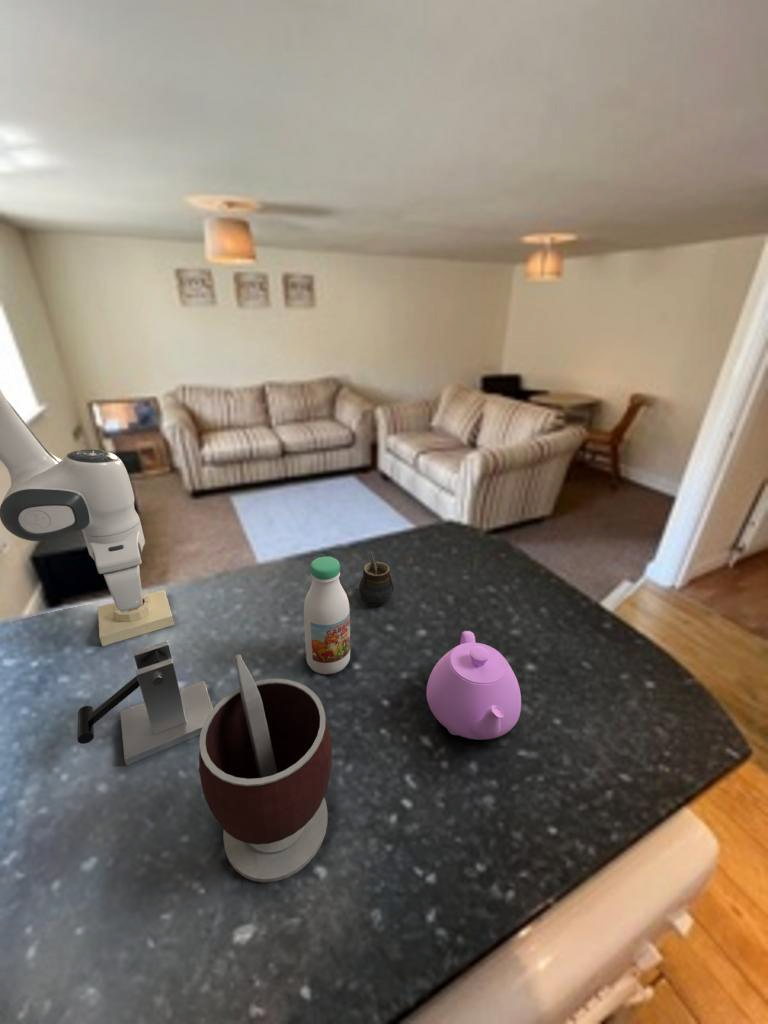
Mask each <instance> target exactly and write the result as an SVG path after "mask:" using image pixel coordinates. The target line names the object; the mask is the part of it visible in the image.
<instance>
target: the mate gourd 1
mask: <svg viewBox="0 0 768 1024" xmlns="http://www.w3.org/2000/svg"><path fill="white" fill-rule="evenodd" d="M234 661H235V663H236V669H237V670H236V671H237V678H238V688H236V689H234V690H233V691H231V692H229V693H228V694H227V695H225V696H224V697H223V698H222V699H221V700H219V701H218V702H217V703H216V704H215V705H214V707H213V709H212V711H211V712H210V713H209V715H208V717H207V718H206V720H205V722H204V724H203V727H202V730H201V733H200V735H199V743H198V746H199V752H198V753H199V754H198V769H199V770H198V772H199V778H200V779H199V780H200V784H201V788H202V792H203V797H204V799H205V802H206V804H207V807H208V809H209V810H210V812H211V814H212V816H213V818H214V820H215V821H216V822H217V823H218V824H219V826H220V827H221V828H222V829H223V836H222V839H223V846H224V851H225V855H226V857H227V859H228V862H229V864H230V865H231V866H232V868H233V869H234V871H235V872H237V873H238V874H239V875H241V876H242V877H244V878H246V879H248V880H251V881H253V882H259V883H275V882H278V881H282V880H286V879H288V878H290V877H291V876H293V875H295V874H297V873H299V872H300V871H301V870H302V869H304V868H305V867H306V866H307V865H308V864H310V862H311V860H313V858H314V857H315V856H316V854H317V853H318V851H319V849H320V848H321V846H322V844H323V842H324V839H325V836H326V832H327V828H328V806H327V800H326V799H325V795H326V793H327V790H328V787H329V781H330V778H331V771H332V767H333V745H332V742H333V741H332V735H331V731H330V726H329V722H328V720H327V719H328V718H327V716H326V712H325V708H324V706H323V703H322V701H321V699H320V698H319V697H318V695H317V694H316V693H315V692H314V691H313V690H312V689H310V688H309V687H308V686H306V685H304V684H302V683H300V682H299V681H295V680H292V679H287V678H267V679H261V680H260V679H259V680H256V681H255V680H254V678H253V676H252V674H251V672H250V670H249V669H248V666H247V664H246V663H245V661H244V660H243V658H242V654H236V655H235V656H234Z"/></svg>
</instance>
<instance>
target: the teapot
mask: <svg viewBox="0 0 768 1024" xmlns="http://www.w3.org/2000/svg"><path fill="white" fill-rule="evenodd" d="M426 701H427V704H428V707H429V709H430V711H431V713H432V715H433V716H434V717H435V719H436V720H437V721H438V722H439V723H440V725H442V726H443V727H444V728H446V729H447V731H448V732H449V734H451V735H453V736H460V737H462V738H466V739H468V740H469V739H470V740H478V741H482V740H485V741H486V740H492V739H496V738H499V737H502V736H504V735H506V734H508V733H509V732H510V731H511V730H512V729H513V728H514V727H515V726H516V724H517V723H518V722H519V718H520V716H521V711H522V695H521V689H520V685H519V682H518V679H517V676H516V674H515V672H514V670H513V669H512V667H511V665H510V663H509V662H508V660H507V659H506V658H505V657H504V655H503V654H502V653H501V652H500V651H498V650H497V649H495V648H494V647H492V646H490V645H487V644H484V643H481V642H476V636H475V634H474V632H472V631H470V630H464V631H462V633H461V636H460V644H458V645H457V646H455V647H453V648H451V649H450V650H449V651H447V652H446V653H445V654H444V655H443V656H442V657H441V658H440V659H439V660H438V662H437V663H435V666H433V668H432V670H431V673H430V674H429V678H428V680H427V684H426Z"/></svg>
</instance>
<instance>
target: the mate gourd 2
mask: <svg viewBox="0 0 768 1024" xmlns="http://www.w3.org/2000/svg"><path fill="white" fill-rule="evenodd" d="M369 553H370V558H371V561H370V562H368V563H366V564H364V566H363V568H362V572H363V574H362V578H361V580H360V581H359V585H358V592H359V596H360V599H361V600H362V602H363V603H365V604H367V605H369V606H370V607H371V606H372V607H380V606H383V605H385V604H386V603H388V602H389V601H390V600H391V598H392V595H393V592H394V588H395V587H394V586H395V585H394V583H393V580H392V576H391V567H390V565H388V564H387V563H385V562H381V561H376V560H375V556H374V552H373V550H369Z"/></svg>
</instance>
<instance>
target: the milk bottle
mask: <svg viewBox="0 0 768 1024" xmlns="http://www.w3.org/2000/svg"><path fill="white" fill-rule="evenodd" d="M340 571H341V564H340V561H339V560H338V559H336V558H335V557H332V556H321V557H317V558H315V559H313V560H312V562H311V563H310V577H311V579H312V581H311V584H310V588H309V590H308V592H307V594H306V596H305V599H304V604H303V625H304V627H303V629H304V644H305V658H306V663H307V665H308V666H309V669H311V670H312V671H313V672H316V673H317V674H320V675H332V674H336V673H338V672H341V671H342V670H344V669H345V668H346V667H347V666H348V664H349V662H350V660H351V612H350V611H351V610H350V602H349V597H348V596H347V592H346V591H345V590H344V588H343V586H342V584H341V581H340V576H341V572H340Z"/></svg>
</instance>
